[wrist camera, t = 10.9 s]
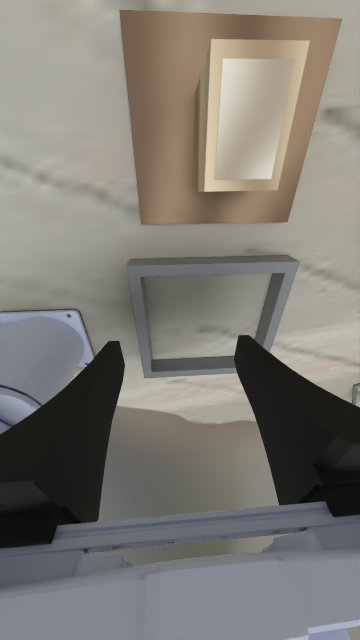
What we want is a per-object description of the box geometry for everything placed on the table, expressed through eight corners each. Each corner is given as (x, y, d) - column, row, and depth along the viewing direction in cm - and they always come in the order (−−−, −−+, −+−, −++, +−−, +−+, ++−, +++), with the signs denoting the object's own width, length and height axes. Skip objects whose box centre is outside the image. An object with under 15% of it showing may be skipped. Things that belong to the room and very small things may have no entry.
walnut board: (142, 222, 16) (141, 224, 16) (123, 23, 11) (119, 9, 10) (281, 220, 17) (287, 222, 16) (329, 31, 11) (341, 18, 11)
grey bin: (145, 366, 26) (144, 378, 24) (130, 259, 18) (126, 265, 16) (257, 360, 26) (263, 371, 25) (287, 255, 19) (299, 261, 17)
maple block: (193, 191, 15) (204, 191, 10) (195, 92, 12) (211, 38, 8) (245, 190, 15) (278, 190, 11) (259, 93, 12) (310, 39, 8)
